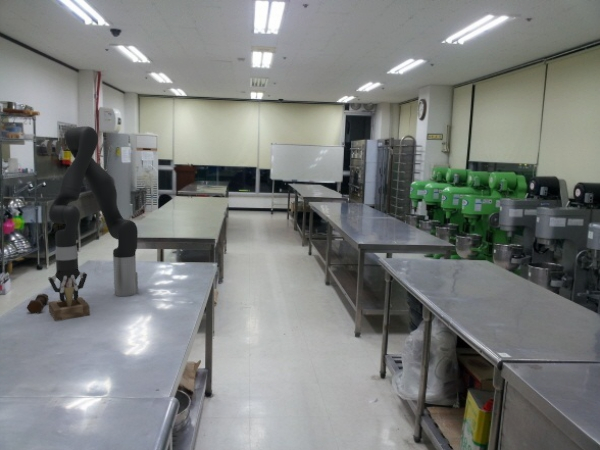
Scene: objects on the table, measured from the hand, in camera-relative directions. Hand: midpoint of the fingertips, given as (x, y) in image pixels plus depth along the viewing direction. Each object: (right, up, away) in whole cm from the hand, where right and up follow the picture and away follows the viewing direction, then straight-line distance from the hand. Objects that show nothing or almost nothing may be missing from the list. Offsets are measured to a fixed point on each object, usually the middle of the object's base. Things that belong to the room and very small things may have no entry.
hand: (69, 300), depth 183 cm
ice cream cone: (0, -5, +1) cm, 5 cm away
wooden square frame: (0, -5, +1) cm, 5 cm away
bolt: (-15, -4, +7) cm, 17 cm away
